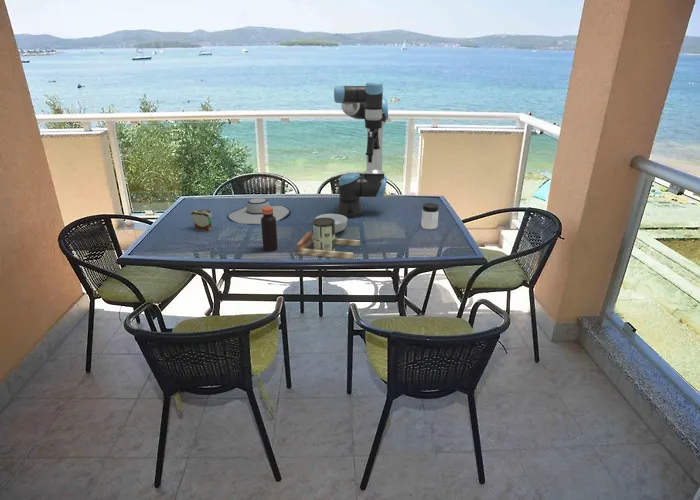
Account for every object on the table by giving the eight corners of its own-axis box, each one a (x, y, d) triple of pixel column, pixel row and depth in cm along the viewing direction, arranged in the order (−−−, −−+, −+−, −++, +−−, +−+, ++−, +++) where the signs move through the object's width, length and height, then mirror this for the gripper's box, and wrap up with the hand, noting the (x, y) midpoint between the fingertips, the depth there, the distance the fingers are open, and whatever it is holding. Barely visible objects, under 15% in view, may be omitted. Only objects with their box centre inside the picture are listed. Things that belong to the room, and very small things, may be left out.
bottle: (265, 245, 216) (262, 205, 208) (279, 246, 215) (276, 206, 207) (261, 251, 210) (258, 210, 202) (275, 251, 209) (272, 210, 201)
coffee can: (325, 243, 218) (324, 215, 213) (339, 249, 212) (339, 220, 206) (309, 249, 212) (307, 221, 206) (323, 255, 205) (322, 226, 200)
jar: (428, 230, 234) (429, 208, 230) (417, 226, 241) (419, 204, 236) (440, 227, 239) (442, 205, 234) (430, 223, 245) (431, 201, 240)
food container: (219, 228, 238) (216, 210, 234) (211, 232, 233) (208, 214, 229) (201, 225, 243) (198, 207, 239) (192, 228, 237) (190, 210, 233)
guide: (297, 254, 206) (297, 244, 204) (308, 240, 221) (308, 231, 220) (352, 259, 201) (352, 248, 199) (360, 245, 216) (360, 235, 214)
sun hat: (293, 205, 277) (292, 191, 274) (287, 225, 244) (286, 209, 241) (234, 205, 276) (233, 191, 273) (220, 226, 243) (218, 210, 240)
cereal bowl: (335, 239, 223) (335, 226, 220) (308, 233, 231) (308, 220, 228) (353, 229, 236) (353, 216, 234) (327, 223, 244) (327, 211, 242)
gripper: (377, 122, 188) (376, 172, 196) (385, 116, 211) (384, 161, 219) (359, 122, 190) (359, 171, 198) (370, 115, 212) (369, 160, 220)
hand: (372, 166), depth 208 cm, fingers open, 13 cm apart
